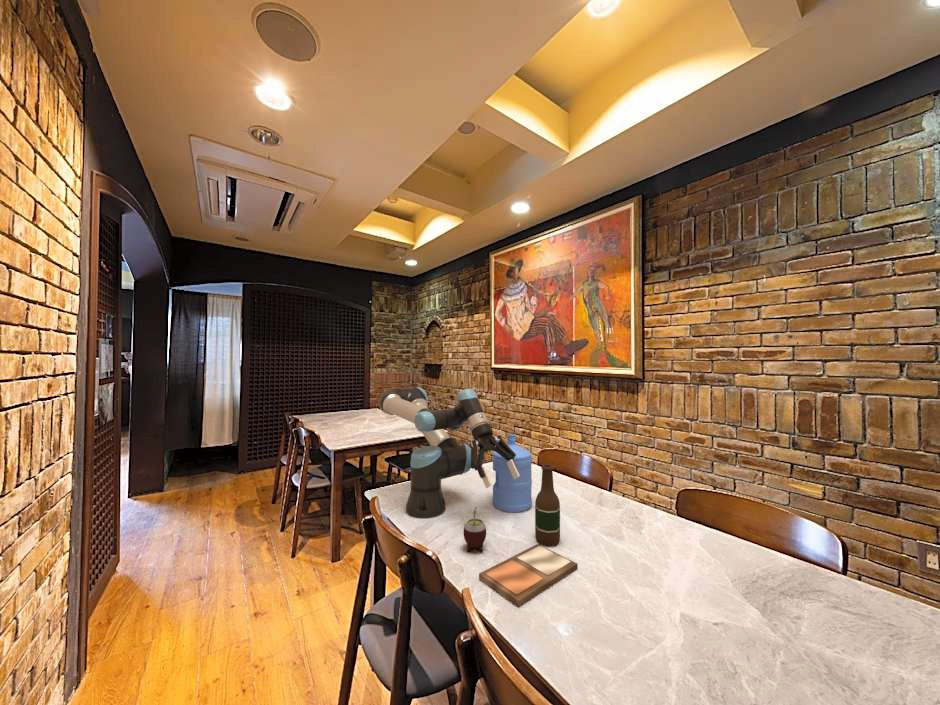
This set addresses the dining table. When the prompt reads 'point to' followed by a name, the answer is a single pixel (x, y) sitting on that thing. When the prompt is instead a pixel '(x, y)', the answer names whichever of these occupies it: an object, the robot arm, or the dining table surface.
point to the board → (527, 574)
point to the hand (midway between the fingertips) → (503, 482)
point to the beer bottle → (547, 511)
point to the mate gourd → (474, 533)
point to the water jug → (512, 480)
